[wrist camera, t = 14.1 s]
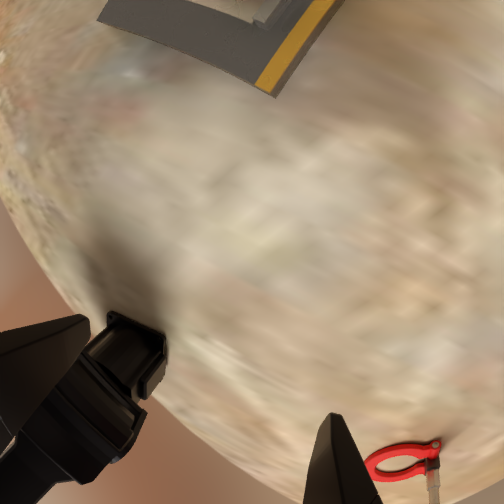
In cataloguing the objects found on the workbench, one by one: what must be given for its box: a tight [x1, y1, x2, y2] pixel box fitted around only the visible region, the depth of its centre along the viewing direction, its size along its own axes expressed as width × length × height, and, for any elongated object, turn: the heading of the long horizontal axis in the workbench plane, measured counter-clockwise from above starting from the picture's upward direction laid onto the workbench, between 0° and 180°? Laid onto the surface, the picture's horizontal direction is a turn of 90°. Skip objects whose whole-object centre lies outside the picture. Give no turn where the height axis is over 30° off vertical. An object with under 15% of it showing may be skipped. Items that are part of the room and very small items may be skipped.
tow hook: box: [364, 440, 441, 504], centre depth 20 cm, size 8×13×9 cm
